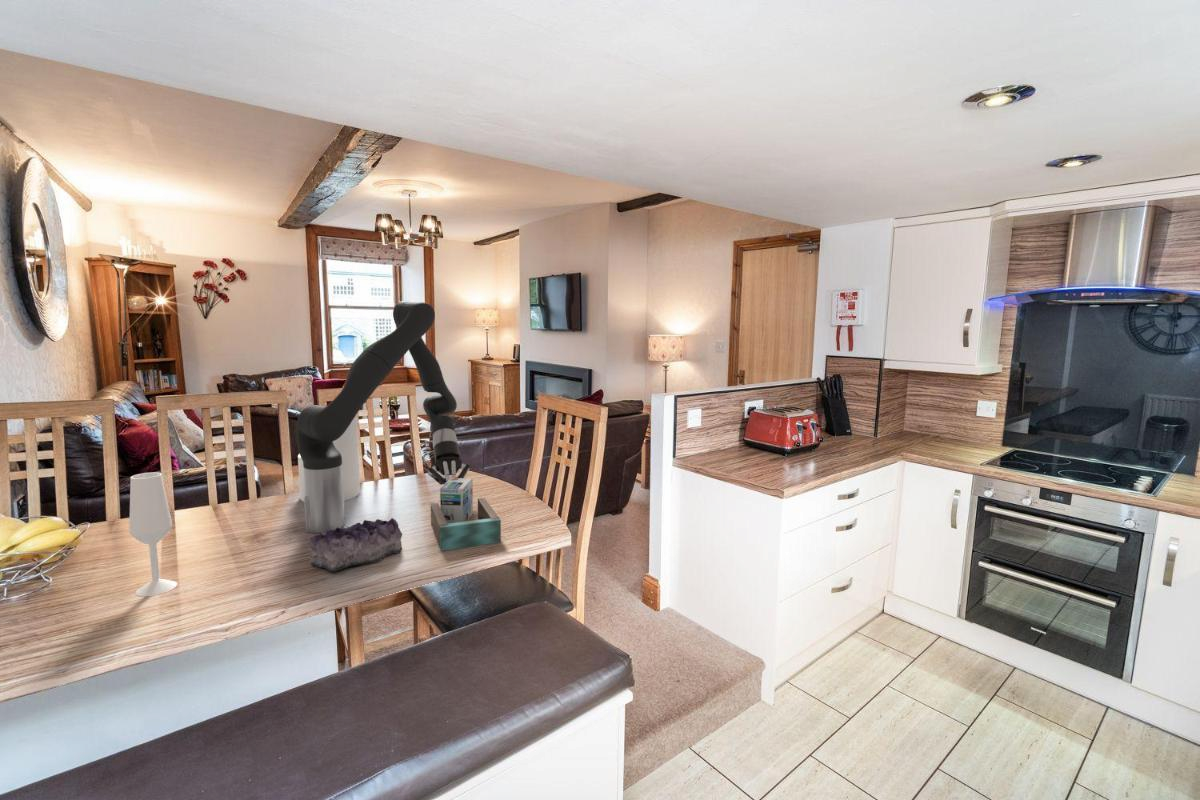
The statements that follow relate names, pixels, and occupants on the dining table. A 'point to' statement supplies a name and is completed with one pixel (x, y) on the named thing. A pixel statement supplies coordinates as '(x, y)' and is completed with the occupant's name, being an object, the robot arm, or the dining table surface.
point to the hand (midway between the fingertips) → (452, 494)
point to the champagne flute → (150, 524)
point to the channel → (466, 528)
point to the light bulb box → (457, 500)
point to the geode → (355, 544)
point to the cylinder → (343, 462)
